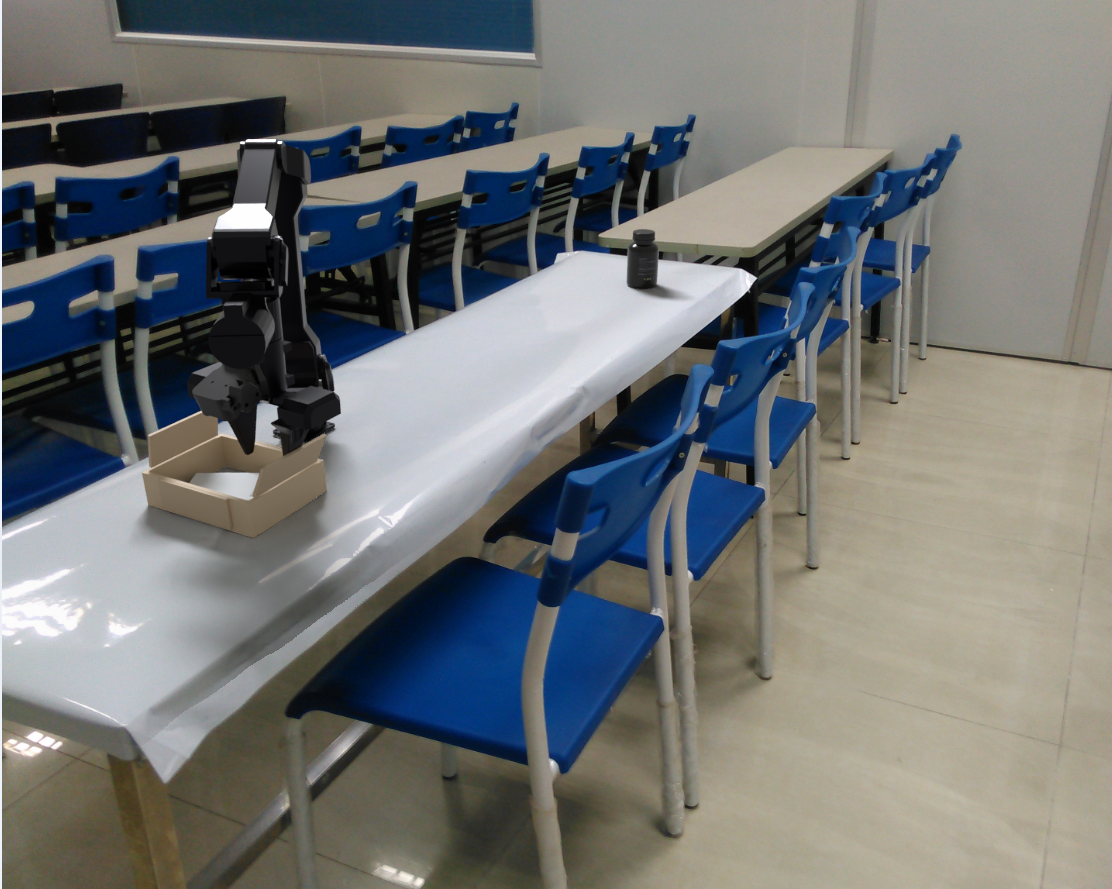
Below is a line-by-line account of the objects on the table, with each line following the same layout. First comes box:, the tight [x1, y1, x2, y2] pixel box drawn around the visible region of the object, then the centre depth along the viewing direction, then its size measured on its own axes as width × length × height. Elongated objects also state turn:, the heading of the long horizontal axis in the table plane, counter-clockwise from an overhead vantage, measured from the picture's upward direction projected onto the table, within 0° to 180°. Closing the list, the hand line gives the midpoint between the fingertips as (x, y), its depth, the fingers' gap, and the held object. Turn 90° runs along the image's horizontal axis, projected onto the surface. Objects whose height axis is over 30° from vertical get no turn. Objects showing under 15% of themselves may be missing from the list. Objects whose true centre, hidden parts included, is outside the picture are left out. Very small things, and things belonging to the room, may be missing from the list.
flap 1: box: [147, 410, 219, 468], centre depth 121 cm, size 4×11×1 cm
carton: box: [141, 433, 328, 539], centre depth 120 cm, size 14×17×4 cm
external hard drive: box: [190, 472, 259, 501], centre depth 120 cm, size 2×8×12 cm
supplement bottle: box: [626, 228, 660, 290], centre depth 210 cm, size 7×7×12 cm
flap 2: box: [252, 433, 327, 498], centre depth 114 cm, size 4×11×1 cm
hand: (269, 460), depth 115 cm, fingers open, 6 cm apart
